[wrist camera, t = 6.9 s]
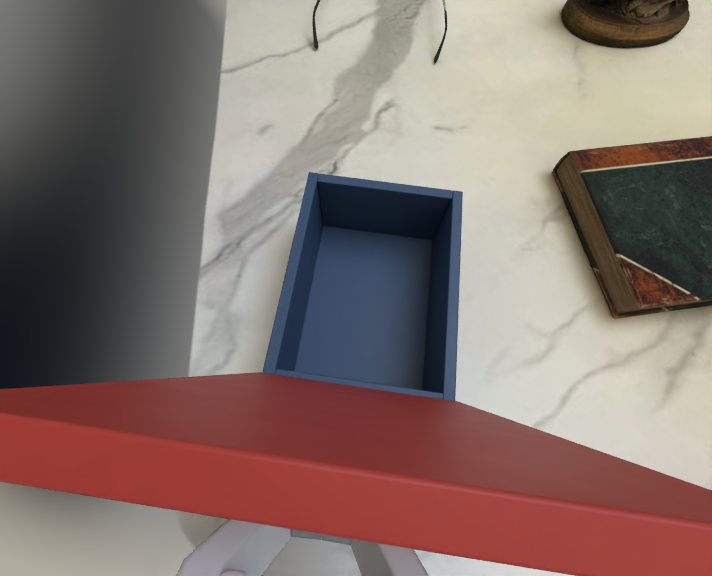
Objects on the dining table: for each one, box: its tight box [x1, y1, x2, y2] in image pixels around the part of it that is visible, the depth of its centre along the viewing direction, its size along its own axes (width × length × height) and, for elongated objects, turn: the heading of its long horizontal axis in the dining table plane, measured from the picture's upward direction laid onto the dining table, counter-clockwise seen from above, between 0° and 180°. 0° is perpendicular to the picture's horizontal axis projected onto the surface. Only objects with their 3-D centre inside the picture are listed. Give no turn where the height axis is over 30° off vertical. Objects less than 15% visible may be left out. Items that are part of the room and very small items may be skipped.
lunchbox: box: [263, 172, 463, 401], centre depth 28 cm, size 17×13×8 cm
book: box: [553, 136, 712, 318], centre depth 34 cm, size 17×4×25 cm
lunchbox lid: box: [0, 372, 712, 576], centre depth 13 cm, size 17×13×1 cm
